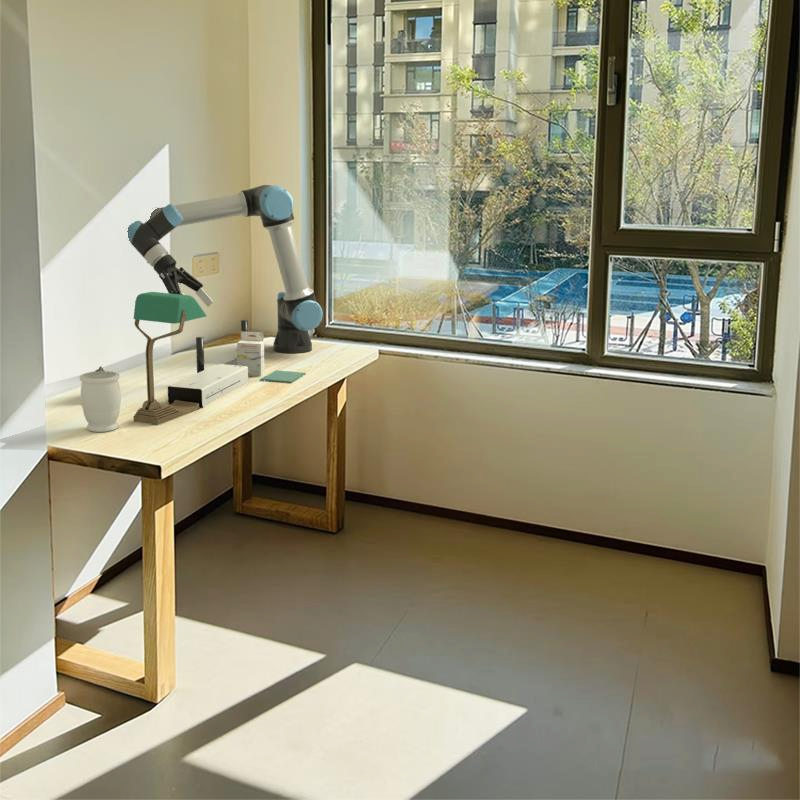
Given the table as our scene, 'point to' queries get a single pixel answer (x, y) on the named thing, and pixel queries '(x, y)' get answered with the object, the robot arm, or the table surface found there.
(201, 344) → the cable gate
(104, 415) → the jar
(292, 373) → the green mat
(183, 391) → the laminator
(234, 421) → the table surface
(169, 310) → the banker's lamp
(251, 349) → the ink cartridge box
